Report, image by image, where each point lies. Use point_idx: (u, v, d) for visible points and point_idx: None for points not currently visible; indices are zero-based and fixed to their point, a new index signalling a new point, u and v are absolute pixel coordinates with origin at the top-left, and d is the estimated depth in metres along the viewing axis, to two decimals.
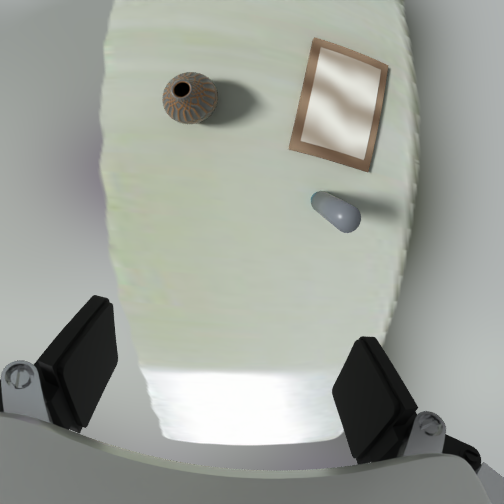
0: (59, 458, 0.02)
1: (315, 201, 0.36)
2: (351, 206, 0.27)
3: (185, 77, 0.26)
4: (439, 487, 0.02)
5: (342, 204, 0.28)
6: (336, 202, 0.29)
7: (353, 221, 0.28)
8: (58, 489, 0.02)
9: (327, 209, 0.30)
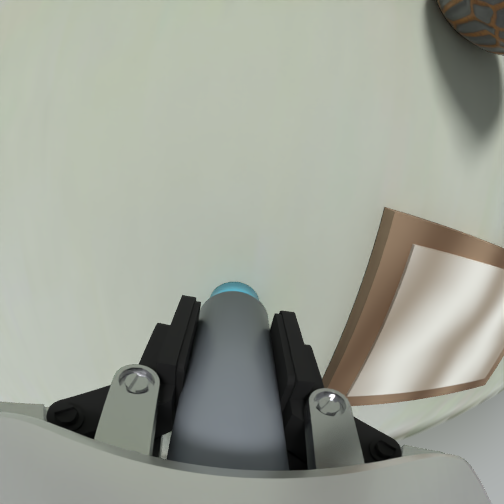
0: (59, 458, 0.02)
1: (239, 319, 0.09)
2: None
3: None
4: (439, 487, 0.02)
5: None
6: None
7: None
8: (58, 489, 0.02)
9: (239, 468, 0.04)
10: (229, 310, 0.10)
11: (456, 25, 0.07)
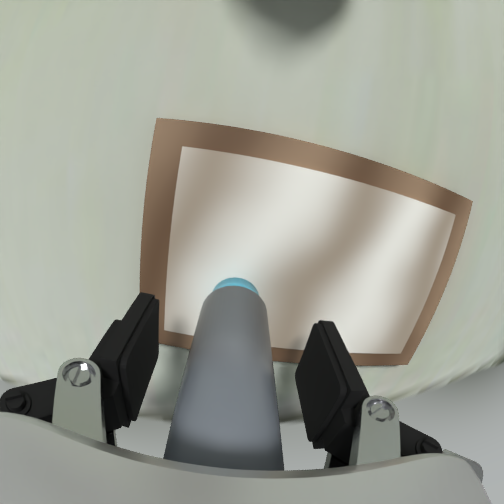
0: (59, 458, 0.02)
1: (239, 312, 0.10)
2: None
3: None
4: (439, 487, 0.02)
5: None
6: None
7: None
8: (58, 489, 0.02)
9: (234, 445, 0.05)
10: (229, 303, 0.11)
11: None
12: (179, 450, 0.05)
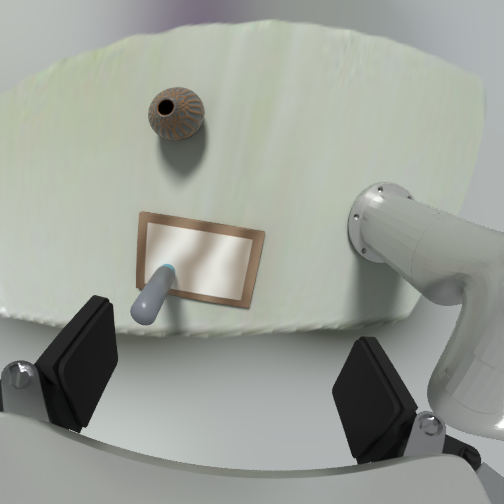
0: (59, 458, 0.02)
1: (162, 271, 0.36)
2: (154, 316, 0.29)
3: (184, 108, 0.27)
4: (439, 487, 0.02)
5: (154, 307, 0.29)
6: (157, 299, 0.30)
7: (141, 319, 0.29)
8: (58, 489, 0.02)
9: (150, 290, 0.31)
10: (160, 270, 0.37)
11: None
12: (141, 292, 0.31)
